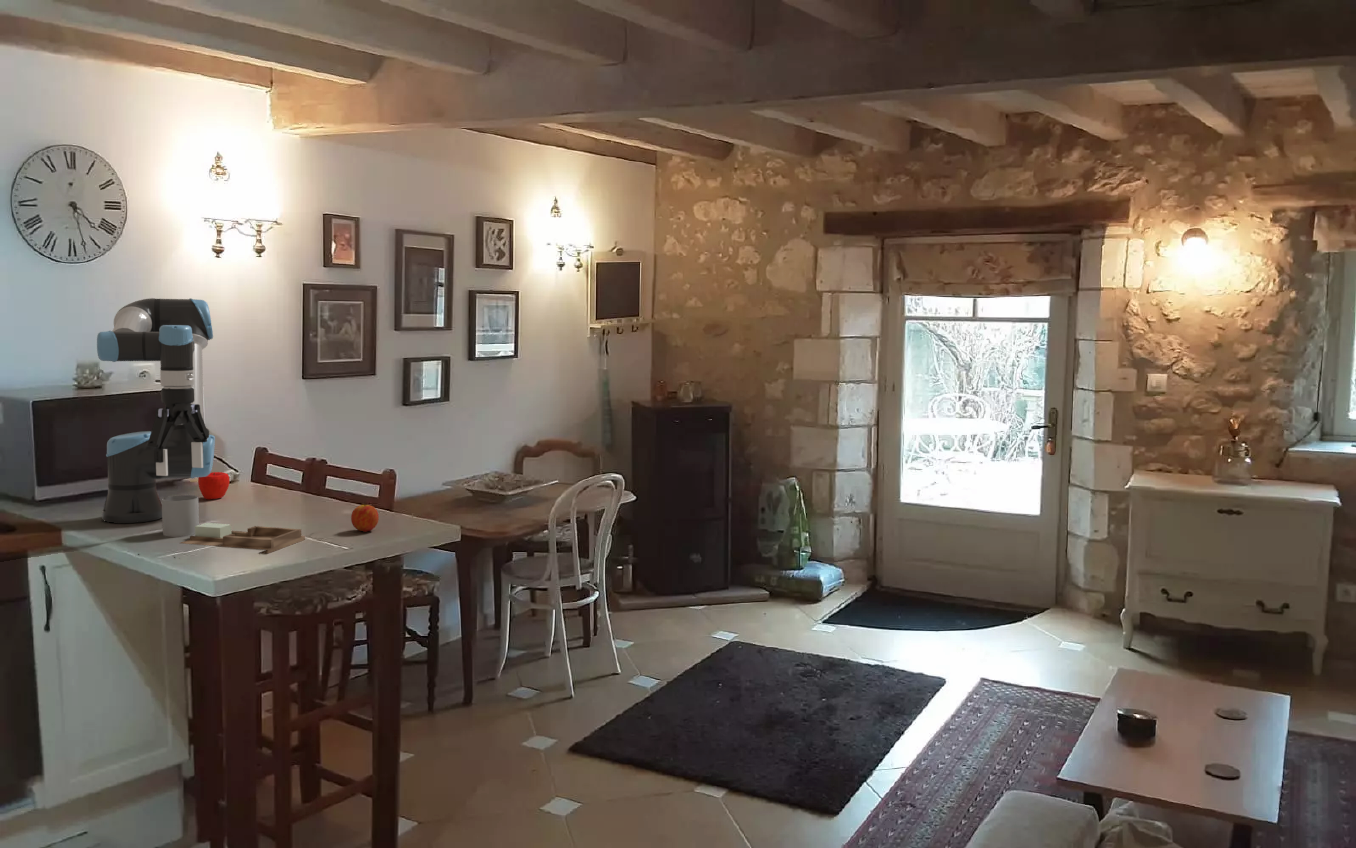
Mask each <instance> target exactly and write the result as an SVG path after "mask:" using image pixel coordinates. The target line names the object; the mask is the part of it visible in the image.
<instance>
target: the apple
mask: <svg viewBox="0 0 1356 848" xmlns="http://www.w3.org/2000/svg"><path fill="white" fill-rule="evenodd" d="M197 478H198V480H197V484H198V488H199V491H200V493H201V496H202V497H203V499H205V500H209V501H210V500H215V499H217V500H218V499H221V498H224V496H225V495H226V493H227V491H228V489H229V486H230V476H229V474H228V473H226V472H223V471H221V472H220V471H214V472H212V471H211V473H210V474H209V475H208V476H206V477H197Z"/></svg>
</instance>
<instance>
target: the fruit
mask: <svg viewBox="0 0 1356 848" xmlns="http://www.w3.org/2000/svg"><path fill="white" fill-rule="evenodd" d="M366 503H367V502H366V500H365V501H364V504H360V505H358V506H356V507H355V508H354V509H353V511H352V512H351V516H350V521H351V524H352V526H353V527H354V528H355V529H356V530H358V531H359V532H361V531H363V532H364V533H367V532H370V531H373V530H374V529H375V528H376V527H377V525H378V523H379V521H380V520H379V517H380V516H379V513H378V510H377V509H376V508H375V506H373V505H370V504H366ZM363 532H362V533H363Z"/></svg>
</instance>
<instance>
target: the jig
mask: <svg viewBox="0 0 1356 848" xmlns="http://www.w3.org/2000/svg"><path fill="white" fill-rule="evenodd" d="M246 530H247V531H242V530H241V531H239V530H231V532H232V534H229V535H226V536H223V538H215V537H202V536H195V535H189V539H188V540H185V541H182V542H180V544H186V545H199V546H200V545H201V546H212V547H225V548H239V549H250V550H251V549H253V550H262V551H260V552H258V554H265V555H267V554H271V553H274V552H276V551H279V550H281V549H284V548H287V547H290V546H292V545H294V544H298V543H300V542H303V541H305V540H306V537H305V535H302V528H287V527H275V526H274V527H273V526H258V525H254V526H251V527H248V528H247V529H246Z"/></svg>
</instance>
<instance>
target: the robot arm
mask: <svg viewBox="0 0 1356 848" xmlns="http://www.w3.org/2000/svg"><path fill="white" fill-rule="evenodd" d="M211 319H212V318H211V313H210V307H209V304H208V302H207V301H205V300H203V299H193V298H187V299H186V298H153V297H151V298H150V297H149V298H143V299H139V300H136V301H133V302H131V303H130V302H129V303H128V304H126V305H124V306H123V307H121V308H120V309H118V311H117V312H116V313H115V315H114V318H113V328H112V330H107V331H99V332H98V333H97V337H96V352H97V356H98V359H99V360H100V361H102V362H112V363H116V362H160V368H159V369H160V372H159V373H160V374H159V375H160V378H159V379H160V386H161V387H162V388H161V390H160V398H161V399H160V401H161V403H163V404H164V405H165V407H164V408H156V409H155V418H154V421H153V423H152V428H151V431H150V430H147V431H146V430H145V431H137V432H136V431H135V432H131V433H130V432H129V433H124V434H119V435H116V436H113V437H110V438H109V440H107V443H106V454H105V456H106V463H107V466H106V467H107V487H108V488H107V495H106V498H105V502H104V505H103V509H102V511H101V520H102V519H103V520H105V521H108V522H107V523H109V522H114V523H113V524H134V523H145V522H152V521H156V520H159V519H162V500H161V499H160V496H159V492H158V491H157V481H156V480H166V479H167V480H169V479H170V480H171V479H195V478H199V477H206V476H208V475H209V474H210V473H212V470H213V464H214V459H215V458H214V457H215V446H216V437H215V435H212V434H210V429H209V428H208V427H207V426H206V424H205V421H204V386H203V385H204V384H203V383H204V381H203V375H204V374H203V350H205V348H206V347H207V346H208V344H209V341H210V340H213V338H214V331H213V325H212V320H211ZM103 520H102V521H103ZM105 521H104V522H105Z"/></svg>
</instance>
